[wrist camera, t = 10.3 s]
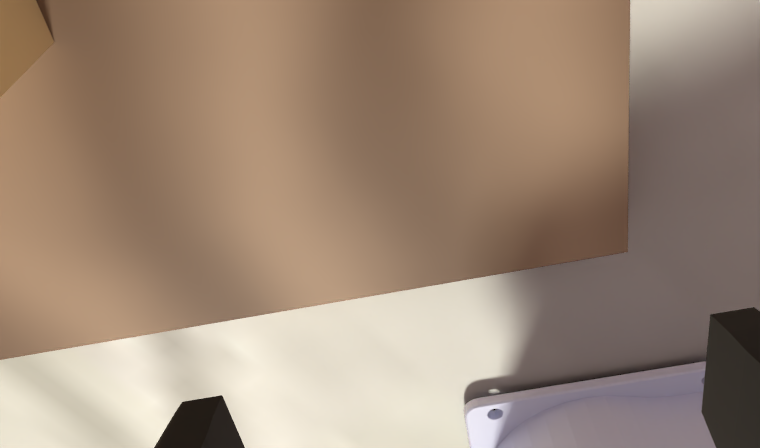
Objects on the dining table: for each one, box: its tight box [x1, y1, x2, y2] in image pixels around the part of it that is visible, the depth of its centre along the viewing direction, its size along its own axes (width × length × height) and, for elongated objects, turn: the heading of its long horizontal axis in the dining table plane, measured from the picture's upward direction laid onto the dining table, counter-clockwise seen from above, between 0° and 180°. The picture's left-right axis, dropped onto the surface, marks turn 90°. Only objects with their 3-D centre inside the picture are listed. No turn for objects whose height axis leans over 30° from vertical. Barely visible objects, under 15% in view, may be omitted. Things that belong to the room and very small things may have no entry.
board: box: [0, 0, 630, 360], centre depth 16 cm, size 22×16×2 cm
